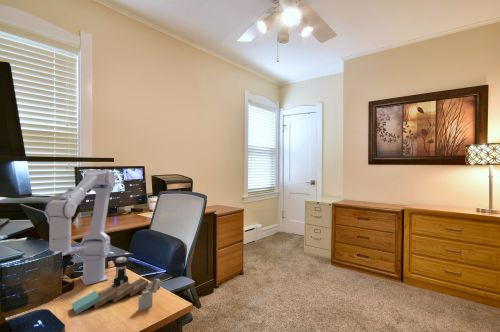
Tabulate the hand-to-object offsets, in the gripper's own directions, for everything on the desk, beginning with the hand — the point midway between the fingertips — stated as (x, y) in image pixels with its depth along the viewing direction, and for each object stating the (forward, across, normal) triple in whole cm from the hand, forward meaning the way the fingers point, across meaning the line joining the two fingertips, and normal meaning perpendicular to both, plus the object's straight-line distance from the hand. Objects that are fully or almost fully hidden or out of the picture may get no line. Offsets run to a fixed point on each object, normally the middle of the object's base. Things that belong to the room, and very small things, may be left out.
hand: (59, 279), depth 86 cm
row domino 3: (+8, +19, -6) cm, 21 cm away
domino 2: (+9, +23, -6) cm, 25 cm away
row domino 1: (+8, +8, -6) cm, 13 cm away
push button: (+9, +19, +5) cm, 22 cm away
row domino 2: (+8, +14, -6) cm, 17 cm away
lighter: (+9, +22, -18) cm, 30 cm away
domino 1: (+8, +3, -6) cm, 11 cm away
